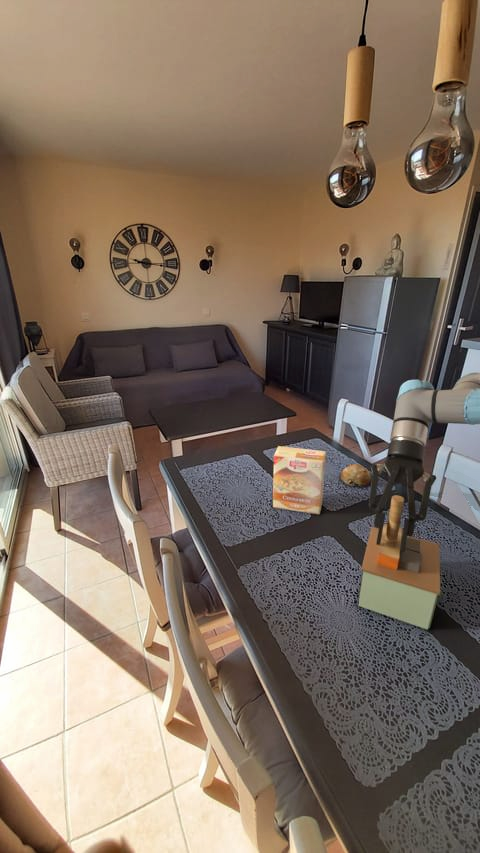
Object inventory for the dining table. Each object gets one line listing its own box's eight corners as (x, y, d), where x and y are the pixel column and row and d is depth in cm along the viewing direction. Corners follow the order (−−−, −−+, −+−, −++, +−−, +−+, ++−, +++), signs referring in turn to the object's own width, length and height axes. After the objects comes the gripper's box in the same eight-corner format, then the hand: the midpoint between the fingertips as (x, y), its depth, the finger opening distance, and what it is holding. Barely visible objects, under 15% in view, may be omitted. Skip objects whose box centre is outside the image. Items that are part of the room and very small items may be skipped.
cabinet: (433, 583, 87) (443, 544, 82) (433, 635, 75) (445, 593, 70) (365, 563, 93) (371, 526, 88) (356, 608, 81) (361, 568, 76)
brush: (381, 535, 85) (389, 484, 80) (399, 540, 84) (409, 488, 78) (376, 564, 77) (385, 509, 71) (396, 570, 75) (407, 514, 70)
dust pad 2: (419, 560, 78) (421, 553, 77) (418, 573, 74) (419, 566, 74) (400, 554, 79) (401, 547, 79) (397, 566, 76) (398, 559, 75)
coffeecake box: (272, 509, 115) (273, 455, 108) (277, 496, 122) (277, 445, 114) (320, 516, 111) (324, 461, 103) (322, 503, 117) (326, 450, 110)
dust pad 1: (418, 547, 81) (420, 540, 81) (418, 559, 78) (420, 552, 77) (399, 542, 83) (401, 535, 82) (398, 553, 80) (399, 546, 79)
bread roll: (339, 492, 129) (341, 480, 123) (340, 468, 136) (342, 456, 130) (369, 495, 127) (372, 483, 121) (368, 471, 133) (371, 458, 127)
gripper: (446, 456, 82) (433, 561, 75) (368, 443, 89) (349, 538, 82) (452, 445, 76) (438, 558, 69) (367, 432, 83) (347, 534, 76)
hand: (390, 547), depth 75 cm, fingers closed on brush, 4 cm apart
